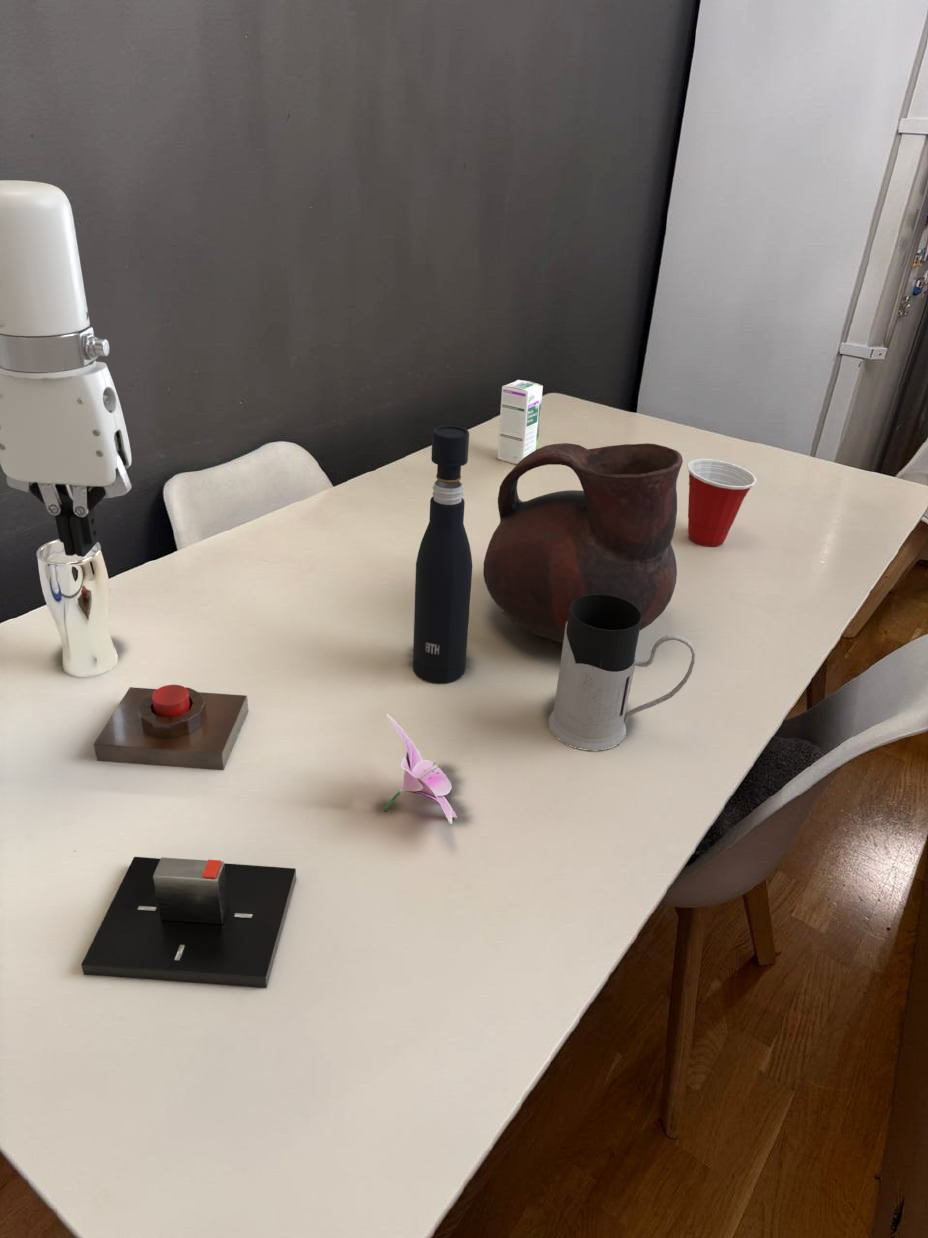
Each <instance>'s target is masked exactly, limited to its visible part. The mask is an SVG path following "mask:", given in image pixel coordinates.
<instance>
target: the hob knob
mask: <svg viewBox="0 0 928 1238" xmlns="http://www.w3.org/2000/svg"><path fill="white" fill-rule="evenodd" d="M159 859H160V862H159V864H158V866H157V868H156V871H155V873H154V875H153V879H154V885H155V891H156V896H157V902H158V908H159V913H160V919H161V920H165V921H180V922H196V923H211V924H223V922H224V919H225V916H226V913H227V910H228V907H229V900H228V891H227V883H226V874H225V866H224V863H225V861H223V860H220V859H207V860H206V859H205V860H204V859H189V858H177V857H176V858H175V857H161V858H159Z"/></svg>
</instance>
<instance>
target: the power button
mask: <svg viewBox="0 0 928 1238" xmlns="http://www.w3.org/2000/svg"><path fill="white" fill-rule="evenodd" d="M185 687H186V686H183V685H180V684H167V685H163V686H161V687H159V688H156V689H157V690H156V691H155V692H154V693H153V695H152V701H153V707H154V712H155V714H156V715H157V716H159V717H174V716H179V715H182V714H184V713H185V712H187V711H188V710H189V708H190V701H189V693H188V690H187V689H186V688H185Z"/></svg>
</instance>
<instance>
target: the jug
mask: <svg viewBox="0 0 928 1238" xmlns="http://www.w3.org/2000/svg"><path fill="white" fill-rule="evenodd" d="M683 462H684V460H683V456H682V454H681V452H679V451H678V450H676V449H674V448H670V447H668V446H665V445H661V444H657V443H645V442H644V443H632V444H631V443H626V444H625V443H624V444H617V445H616V444H615V445H607V446H601V447H594V448H586V447H584V446H583V445H579V444H576V443H568V442H562V443H552V444H548V445H544V446H542V447H540V448H539V447H538V448H537V450H535V451H533V452H532V453H530V454H529V455H527V456H526V457H524V458H523V459H522V460H521V461H520V462H519V463H518V464H515V466H514V468H512V469H511V471H509V472H508V474H506V476H505V477H504V479H503V480H502V481H501V484H500V485H499V488H498V489H499V490H498V495H497V508H498V514H499V524H498V525H497V527H496V528H495V530H494V531H493V533H492V535H491V538H490V540H489V542H488V545H487V549H486V552H485V555H484V561H483V567H482V569H483V570H482V575H483V579H484V583H485V586H486V589H487V592H488V594H489V595H490V597H491V599H492V600H493V601H494V603H495V604H496V605H497V607H498V608H500V610H501V611H502V612H503V613H504V614H505V615H506V616H507V618H509V619H510V620H511V622H514V623H515V624H516V625H518V626H519V627H521V628H522V629H524V630H525V631H527V632H529V633H531V634H533V635H536V636H538V637H540V638H543V639H547V640H551V641H553V642H554V641H555V642H559V643H562V644H563V641H564V634H565V627H566V622H567V621H568V617H569V610H570V605H571V603H572V602H573V601H574V600H575V599H577V598H579V597H582V596H585V595H591V594H604V595H611V596H616V597H619V598H622V599H625V600H627V601H629V602H631V603H632V604H634V605H635V606H636V607H637V608H638V609H639V610H640V612H641V614H642V620H641V626H640V631H641V630H644V629H645V628H646V627H648V626H649V625H651V624H652V623H654V622H655V621H656V620H657V619H658V618H659V617H660V616H661V614H663V612H664V611H665V610H666V608H667V607H668V605H669V604H670V602H671V600H672V598H673V595H674V592H675V588H676V584H677V576H678V569H677V568H678V567H677V566H678V565H677V559H676V555H675V550H674V548H673V545H672V541H673V538H674V535H675V530H676V525H677V516H678V515H677V514H678V492H677V482H678V477H679V474H680V471H681V468H682V465H683ZM549 465H551V466H552V465H553V466H554V465H556V466H557V465H558V466H565V467H568V468H570V469H571V470H572V471H573V472H574V473H575V475H576V476H577V478H578V480H579V483H580V486H581V488H582V490H580V489H579V490H577V489H571V490H570V489H569V490H568V489H567V490H561V491H559V490H558V491H555V492H550V493H546V494H543V495H539V496H537V497H534V498H531V499H528V500H525V501H523V500H521V499H520V497H519V494H518V483H519V479H521V477H522V476H523V475H525V474H526V473H527V472H529V471H531V470H533V469H536V468H540V467H543V466H549Z"/></svg>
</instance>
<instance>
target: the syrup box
mask: <svg viewBox="0 0 928 1238" xmlns="http://www.w3.org/2000/svg"><path fill="white" fill-rule="evenodd" d="M543 388H544V386H543V384H540V383H536V382H534V381H529V380H521V379H517V380H515V381H513V382H510V383H506V384H505V385H502V386H501V394H500V395H501V396H500V397H501V398H500V412H499V413H500V414H499V426H498V427H499V428H498V429H499V430H498V441H497V442H498V443H497V459H498V460H500V461H503V462H506V463H510V464H513V465H517V464H518V463H519V462H520V461H521V460H522V459H523V458H524V457H526V456H527V455H529V454H530V453H532V452H533V451H535V450H537V449H539V447H538V446H539V434H540V423H541V412H542V411H541V410H542V402H543V401H542V400H543Z"/></svg>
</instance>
